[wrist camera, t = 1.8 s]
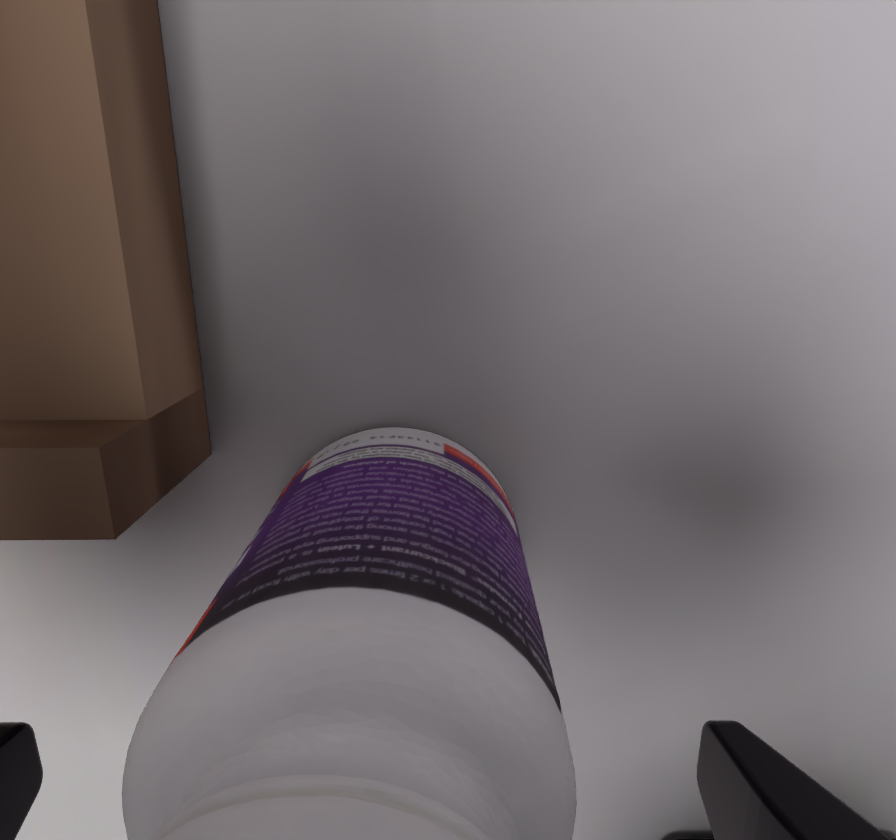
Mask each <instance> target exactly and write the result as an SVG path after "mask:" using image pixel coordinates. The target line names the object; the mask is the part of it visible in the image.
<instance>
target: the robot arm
mask: <svg viewBox="0 0 896 840" xmlns="http://www.w3.org/2000/svg"><path fill="white" fill-rule="evenodd" d="M42 778H43V769H42V764H41V760H40V756H39V752H38V747H37V743H36V739H35V734H34V731H33V728H32V727H31V726H30V725H29V724H27V723H24V722H1V723H0V840H15V838H16V836H17V834H18V832H19V830H20V828H21V826H22V824H23V822H24V820H25V818H26V816H27V814H28V812H29V810H30V808H31V806H32V804H33V802H34V800H35V798H36V796H37V794H38V792H39V790H40V787H41V783H42ZM697 781H698V786H699V790H700V794H701V797H702V800H703V804H704V807H705V810H706V813H707V816H708V820H709V823H710V826H711V829H712V832H713V836H714V839H678V840H896V839H893V838H889V837H887V836H886V835H885V834H884V833H882V832H881V831H880V830H878V829H877V828H876V827H874V826H873V825H872V824H871V823H869V822H868V821H867V820H865V819H864V818H863V817H861V816H860V815H859V814H858V813H856V812H855V811H854V810H852V809H851V808H850V807H848V806H847V805H846V804H845V803H843V802H842V801H841V800H839V799H838V798H837V797H835V796H834V795H833V794H832V793H830V792H829V791H828V790H826V789H825V788H824V787H822V786H821V785H820V784H819V783H817V782H816V781H815V780H813V779H812V778H811V777H809V776H808V775H807V774H806V773H804V772H803V771H802V770H800V769H799V768H798V767H796V766H795V765H794V764H793V763H791V762H790V761H789V760H787V759H786V758H785V757H783V756H782V755H781V754H780V753H778V752H777V751H776V750H774V749H773V748H772V747H770V746H769V745H768V744H767V743H765V742H764V741H763V740H761V739H760V738H759V737H757V736H756V735H755V734H754V733H752V732H751V731H750V730H748V729H747V728H746V727H744V726H743V725H742V724H740V723H738V722H736V721H708V722H706V723H705V724H704V726H703V729H702V734H701V742H700V749H699V757H698V764H697Z"/></svg>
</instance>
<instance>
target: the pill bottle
mask: <svg viewBox="0 0 896 840" xmlns="http://www.w3.org/2000/svg"><path fill="white" fill-rule="evenodd" d="M122 805H123V816H124V822H125V827H126V832H127V837H128V840H571V839H572V835H573V830H574V823H575V814H576V783H575V771H574V765H573V760H572V756H571V751H570V746H569V741H568V736H567V731H566V726H565V723H564V719H563V715H562V711H561V706H560V699H559V696H558V693H557V690H556V686H555V682H554V677H553V673H552V669H551V665H550V660H549V656H548V652H547V648H546V644H545V640H544V635H543V632H542V627H541V623H540V619H539V616H538V611H537V607H536V603H535V599H534V594H533V590H532V586H531V582H530V578H529V574H528V570H527V565H526V561H525V556H524V552H523V548H522V544H521V539H520V535H519V532H518V528H517V524H516V521H515V517H514V514H513V511H512V508H511V506H510V504H509V501H508V499H507V497H506V494H505V492H504V490H503V488H502V487H501V485H500V483H499V482H498V480H497V479H496V477H495V476H494V475H493V473H492V472H491V471H490V470H489V469H488V468H487V467H486V466H485V465H484V464H483V463H482V462H481V461H480V460H479V459H478V458H477V457H476V456H475V455H473V454H472V453H471V452H469V451H468V450H467V449H465V448H464V447H462V446H460V445H459V444H457V443H455V442H453V441H452V440H449V439H447V438H445V437H442V436H440V435H437V434H434V433H432V432H427V431H423V430H418V429H411V428H400V427H389V428H377V429H370V430H366V431H361V432H358V433H355V434H352V435H348V436H346V437H344V438H341V439H339V440H337V441H335V442H334V443H332V444H330V445H328V446H326V447H325V448H324V449H322V450H321V451H319V452H318V453H317V454H315V455H314V456H313V457H312V458H311V459H310V460H308V461H307V462H306V463H305V464H304V465H303V466H302V468H301V469H300V470H299V471H298V472H297V473H296V475H295V476H294V477H293V478H292V480H291V481H290V482H289V484H288V485H287V486H286V488H285V489H284V490H283V492H282V494H281V495H280V497H279V498H278V500H277V501H276V503H275V505H274V506H273V508H272V509H271V511H270V513H269V514H268V516H267V517H266V519H265V520H264V522H263V524H262V525H261V527H260V528H259V530H258V532H257V533H256V535H255V536H254V538H253V539H252V541H251V542H250V544H249V545H248V547H247V548H246V550H245V551H244V553H243V554H242V556H241V557H240V559H239V561H238V562H237V564H236V566H235V567H234V568H233V570H232V571H231V572H230V574H229V575H228V577H227V579H226V581H225V582H224V584H223V585H222V587H221V589H220V590H219V592H218V593H217V595H216V596H215V598H214V600H213V601H212V603H211V604H210V606H209V607H208V609H207V610H206V612H205V613H204V615H203V616H202V618H201V619H200V621H199V622H198V624H197V625H196V627H195V628H194V630H193V631H192V633H191V634H190V636H189V637H188V639H187V640H186V642H185V643H184V645H183V646H182V648H181V649H180V651H179V652H178V653H177V655H176V656H175V657H174V659H173V661H172V662H171V664H170V666H169V667H168V669H167V670H166V672H165V674H164V675H163V677H162V679H161V680H160V682H159V684H158V685H157V687H156V689H155V690H154V692H153V694H152V696H151V697H150V699H149V701H148V703H147V705H146V707H145V708H144V710H143V712H142V714H141V716H140V718H139V720H138V723H137V725H136V728H135V731H134V734H133V737H132V740H131V742H130V745H129V748H128V752H127V758H126V763H125V769H124V775H123V785H122Z"/></svg>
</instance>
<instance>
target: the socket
mask: <svg viewBox="0 0 896 840" xmlns="http://www.w3.org/2000/svg"><path fill="white" fill-rule="evenodd" d="M210 455H211V446H210V437H209V429H208V421H207V412H206V404H205V396H204V387H203V379H202V371H201V362H200V354H199V346H198V338H197V329H196V321H195V313H194V304H193V296H192V288H191V279H190V271H189V263H188V254H187V246H186V238H185V229H184V221H183V213H182V204H181V196H180V188H179V179H178V171H177V163H176V154H175V146H174V138H173V130H172V121H171V113H170V105H169V96H168V88H167V80H166V71H165V63H164V55H163V46H162V38H161V30H160V21H159V13H158V5H157V0H0V540H99V539H116V538H117V537H118V536H119V535H121V534H122V533H123V532H124V531H125V530H126V529H127V528H129V527H130V526H131V525H132V524H133V523H134V522H135V521H136V520H138V519H139V518H140V517H141V516H142V515H143V514H144V513H145V512H147V511H148V510H149V509H150V508H151V507H152V506H153V505H154V504H156V503H157V502H158V501H159V500H160V499H161V498H162V497H164V496H165V495H166V494H167V493H168V492H169V491H170V490H171V489H173V488H174V487H175V486H176V485H177V484H178V483H179V482H180V481H182V480H183V479H184V478H185V477H186V476H187V475H188V474H189V473H191V472H192V471H193V470H194V469H195V468H196V467H197V466H199V465H200V464H201V463H202V462H203V461H204V460H205V459H206V458H208V457H209V456H210Z"/></svg>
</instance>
